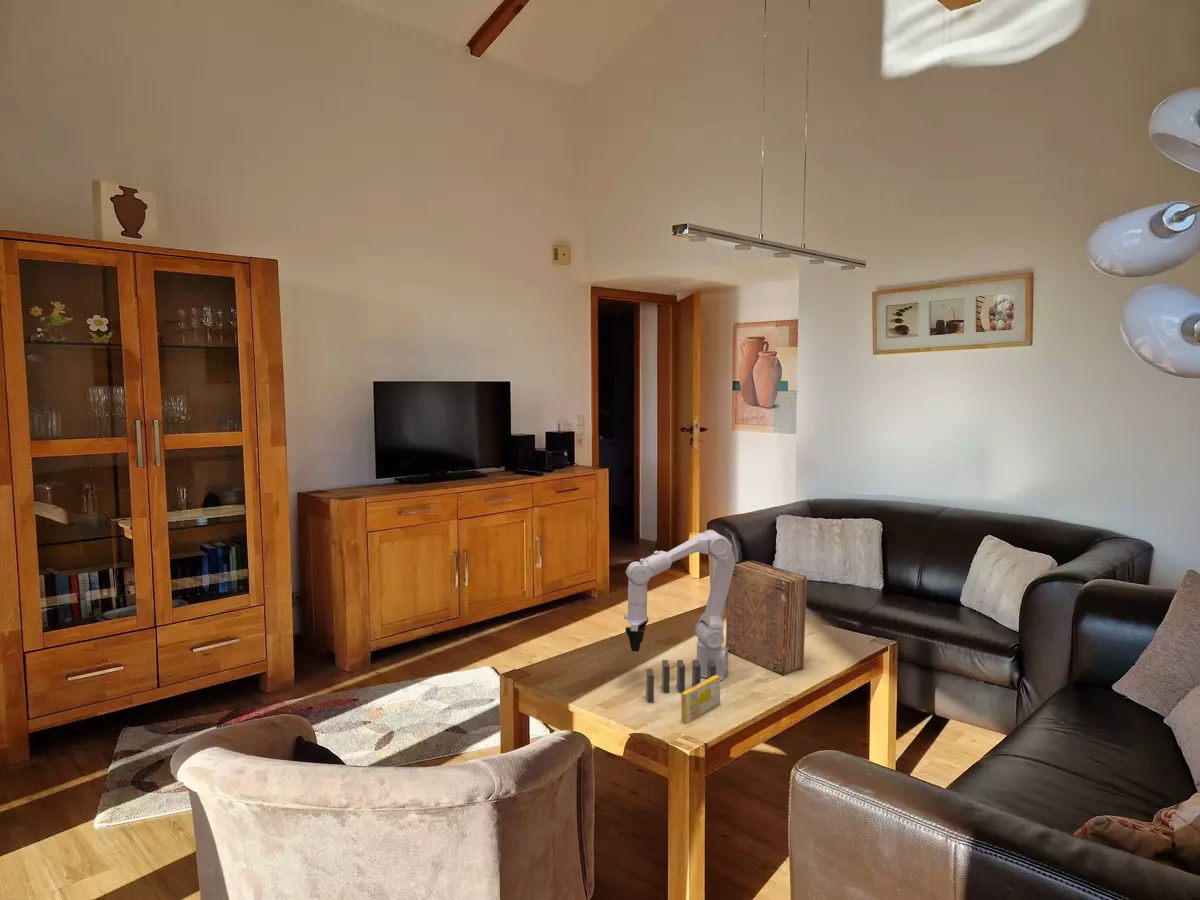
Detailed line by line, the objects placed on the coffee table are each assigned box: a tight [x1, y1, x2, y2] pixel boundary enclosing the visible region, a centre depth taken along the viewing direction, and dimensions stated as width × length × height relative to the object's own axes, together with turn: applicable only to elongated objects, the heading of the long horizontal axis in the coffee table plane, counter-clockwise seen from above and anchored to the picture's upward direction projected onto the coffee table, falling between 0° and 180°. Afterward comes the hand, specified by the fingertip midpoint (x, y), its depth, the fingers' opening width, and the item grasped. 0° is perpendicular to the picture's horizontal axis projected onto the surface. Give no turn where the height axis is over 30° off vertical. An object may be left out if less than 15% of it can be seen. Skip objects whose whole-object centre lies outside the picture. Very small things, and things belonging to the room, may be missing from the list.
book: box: [725, 559, 808, 677], centre depth 251 cm, size 25×9×30 cm, turn 35°
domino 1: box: [645, 668, 655, 704], centre depth 223 cm, size 2×5×8 cm, turn 2°
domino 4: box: [691, 659, 701, 688], centre depth 230 cm, size 2×5×8 cm, turn 2°
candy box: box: [680, 675, 721, 724], centre depth 215 cm, size 16×2×8 cm, turn 138°
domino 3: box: [676, 659, 686, 694], centre depth 230 cm, size 2×5×8 cm, turn 2°
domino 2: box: [661, 659, 671, 694], centre depth 230 cm, size 2×5×8 cm, turn 2°
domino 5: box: [706, 660, 716, 680], centre depth 230 cm, size 2×5×8 cm, turn 2°
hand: (636, 646), depth 236 cm, fingers open, 7 cm apart
